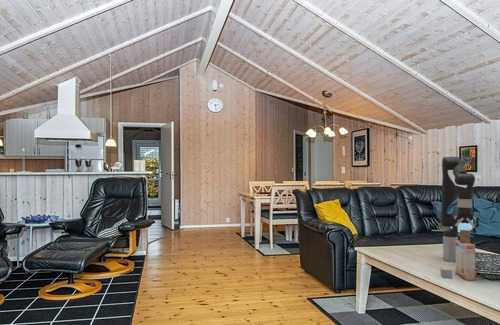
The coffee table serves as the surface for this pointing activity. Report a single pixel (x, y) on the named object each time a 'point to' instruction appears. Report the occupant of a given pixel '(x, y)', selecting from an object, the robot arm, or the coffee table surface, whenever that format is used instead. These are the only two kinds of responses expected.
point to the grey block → (446, 273)
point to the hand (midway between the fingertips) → (465, 233)
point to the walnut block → (464, 236)
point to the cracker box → (465, 260)
